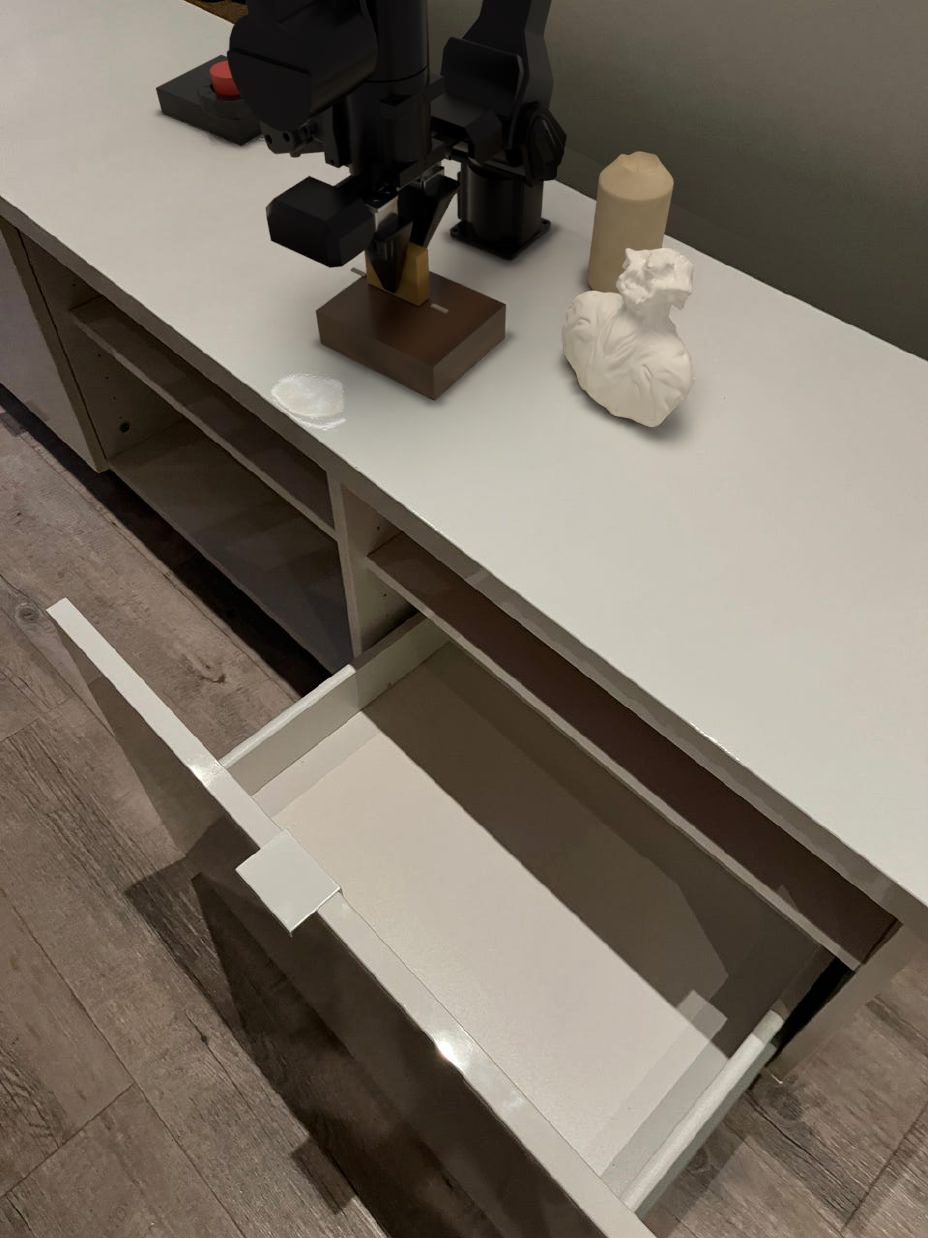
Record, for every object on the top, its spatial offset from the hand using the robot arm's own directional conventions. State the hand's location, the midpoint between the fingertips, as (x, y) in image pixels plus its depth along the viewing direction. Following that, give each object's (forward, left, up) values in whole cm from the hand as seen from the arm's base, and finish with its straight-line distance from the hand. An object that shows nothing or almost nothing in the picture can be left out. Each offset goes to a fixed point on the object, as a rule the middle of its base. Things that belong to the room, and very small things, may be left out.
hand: (398, 284), depth 69 cm
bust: (-18, -4, -4) cm, 19 cm away
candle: (-11, -15, -4) cm, 19 cm away
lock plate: (-2, +1, -4) cm, 4 cm away
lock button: (+32, -15, 0) cm, 35 cm away
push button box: (+35, -17, -4) cm, 39 cm away
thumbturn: (0, 0, 0) cm, 0 cm away
